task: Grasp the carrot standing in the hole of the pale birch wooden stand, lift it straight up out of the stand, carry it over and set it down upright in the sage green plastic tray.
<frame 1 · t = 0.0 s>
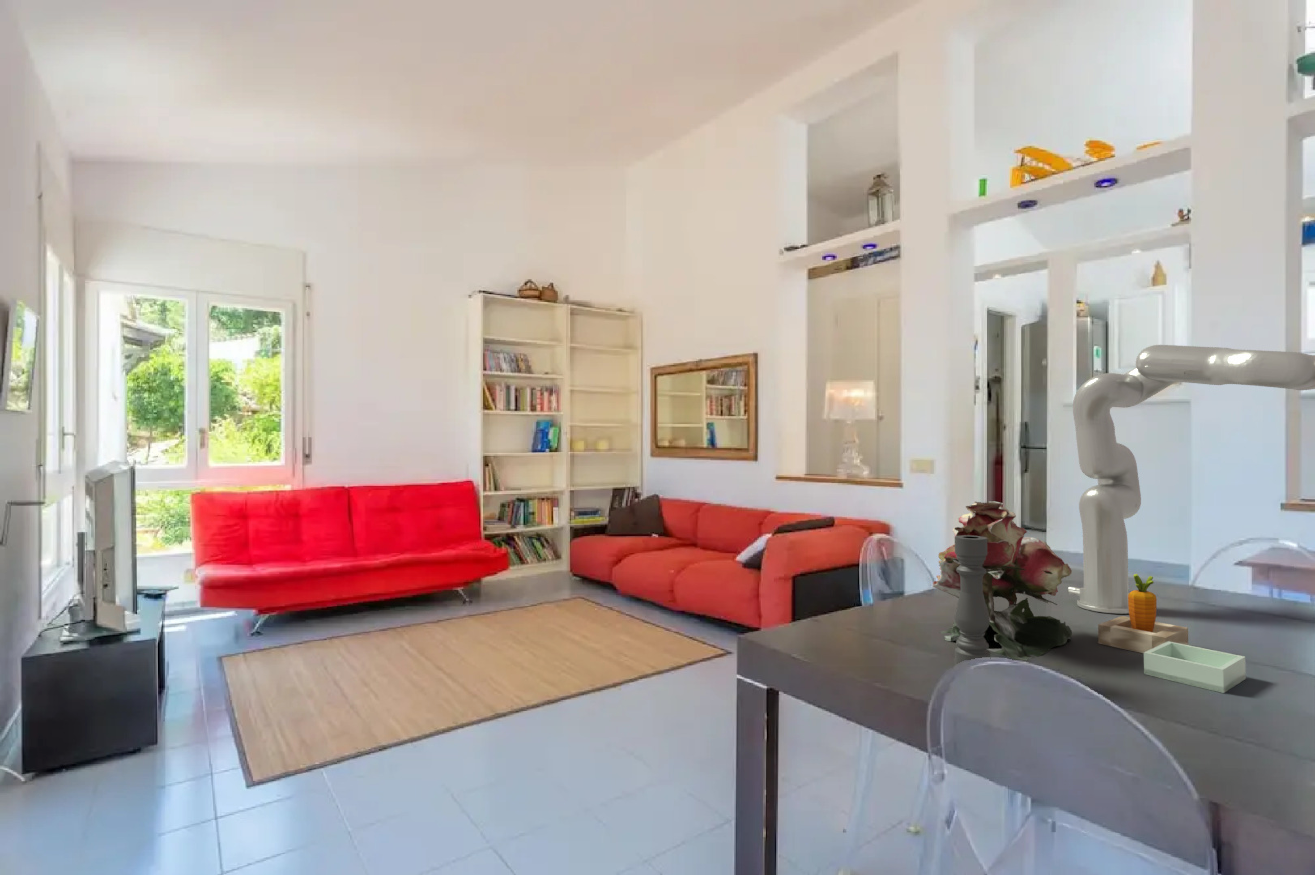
rose bouquet: (994, 637, 148), on the table
tray: (1194, 676, 122), on the table
carrot: (1142, 646, 140), on the table
wooden stand: (1142, 645, 140), on the table
candle holder: (972, 669, 127), on the table
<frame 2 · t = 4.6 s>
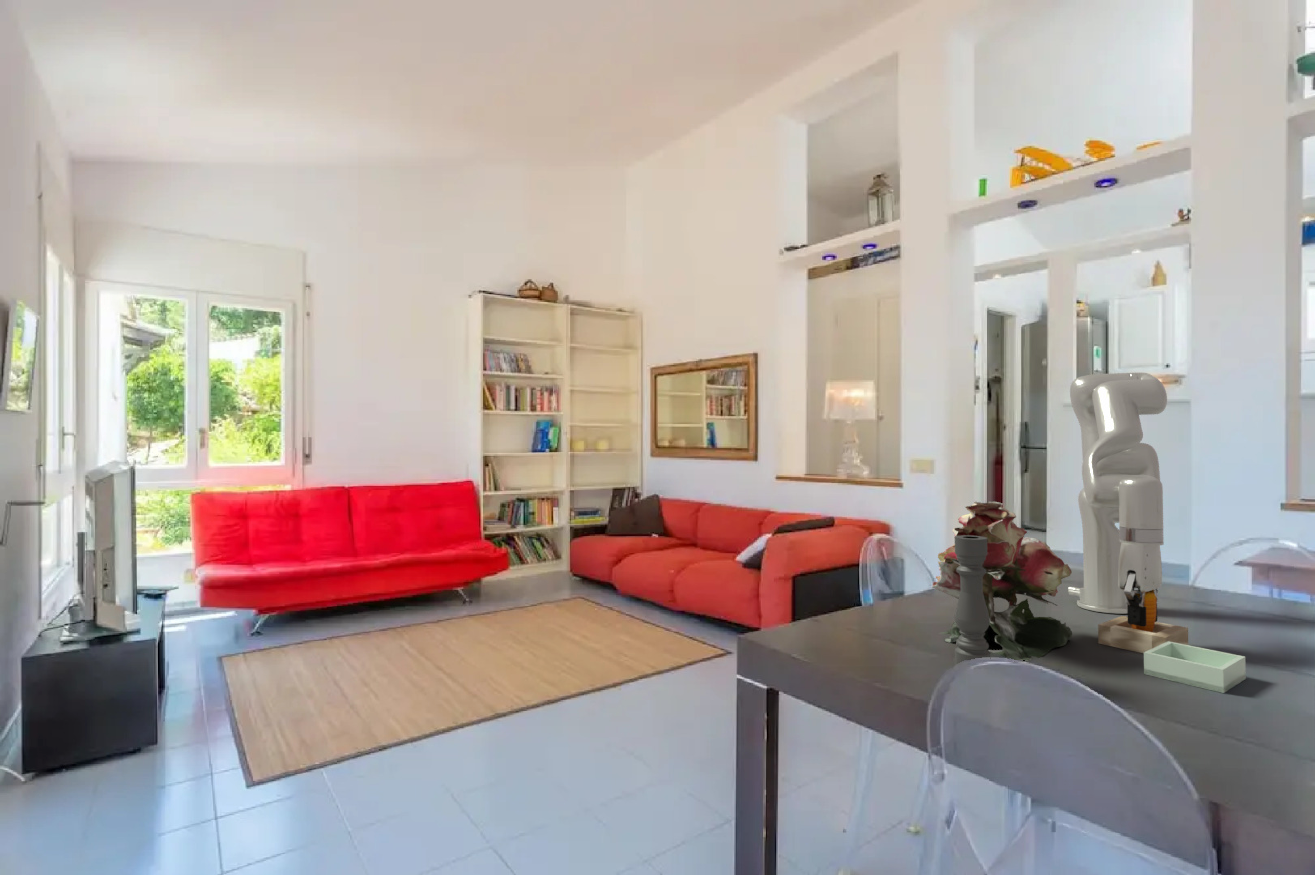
hand: (1142, 621, 140), 5 cm above the table, tool pointing down, fingers closed on carrot, 4 cm apart
carrot: (1143, 646, 140), on the table, touching gripper
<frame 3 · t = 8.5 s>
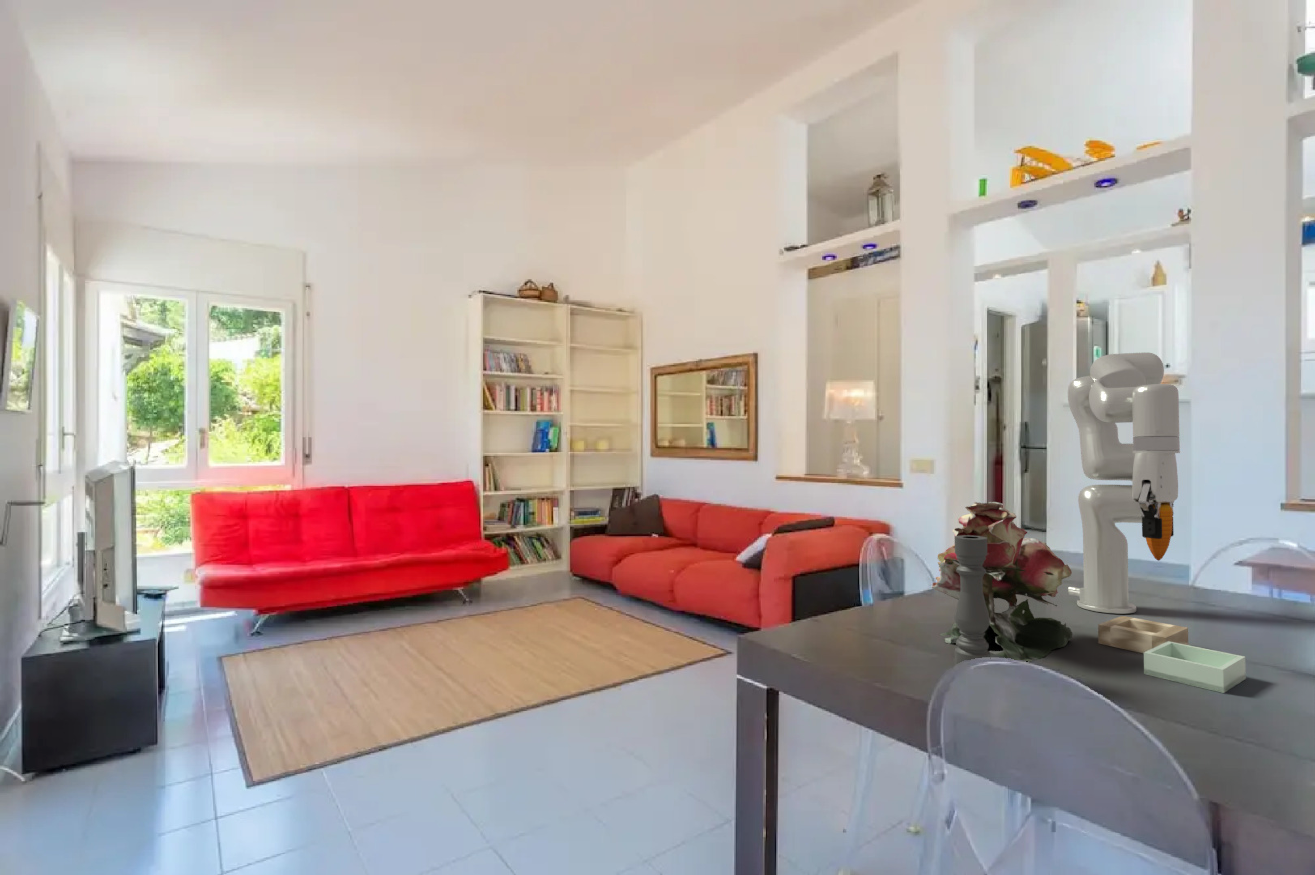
hand: (1157, 536, 134), 24 cm above the table, tool pointing down, fingers closed on carrot, 4 cm apart
carrot: (1158, 561, 134), point 19 cm above the table, touching gripper
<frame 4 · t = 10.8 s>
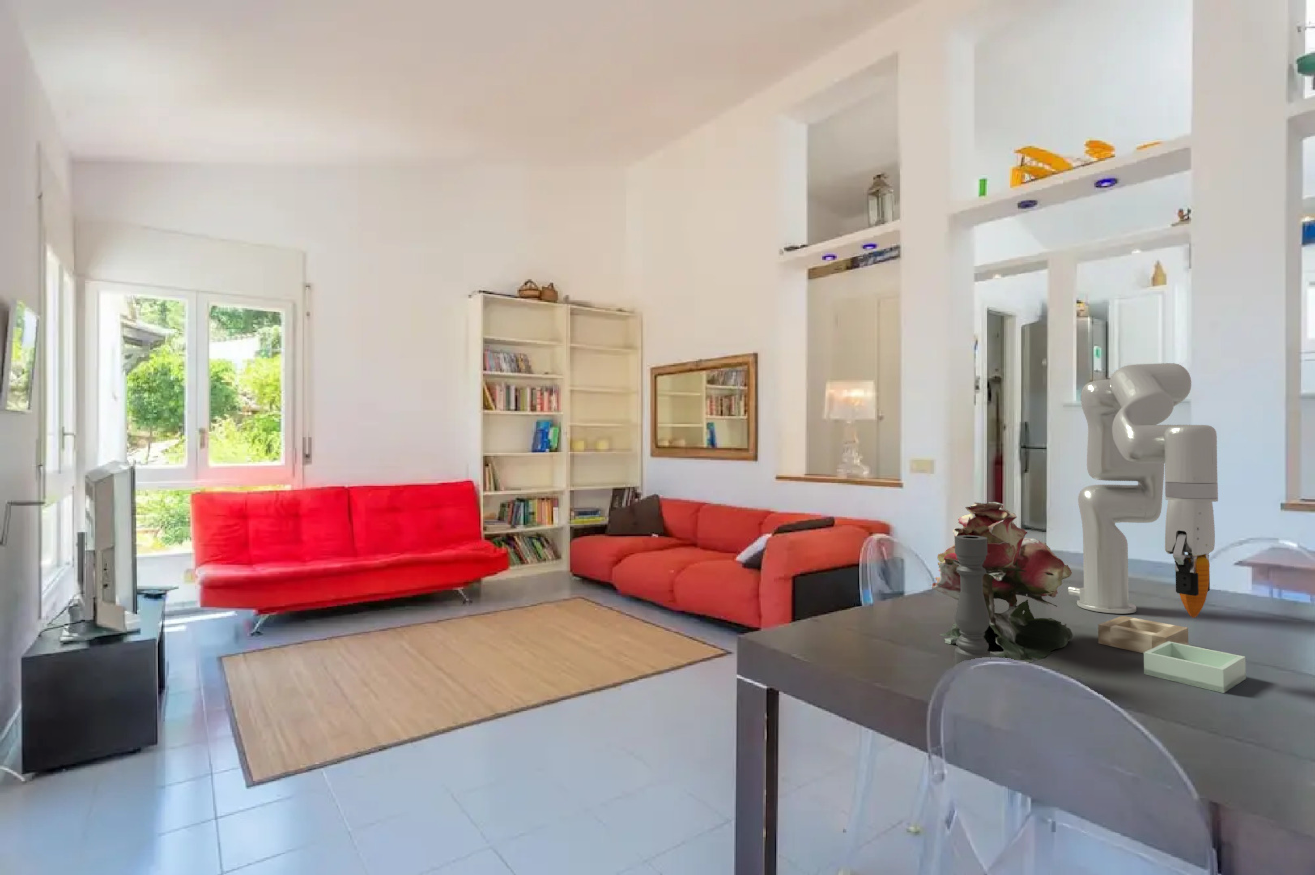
hand: (1192, 591, 122), 16 cm above the table, tool pointing down, fingers closed on carrot, 4 cm apart
carrot: (1193, 619, 122), point 11 cm above the table, touching gripper
when the fingers open (8 cm above the table, at t = 12.6 s): carrot drops 2 cm, resting on tray.
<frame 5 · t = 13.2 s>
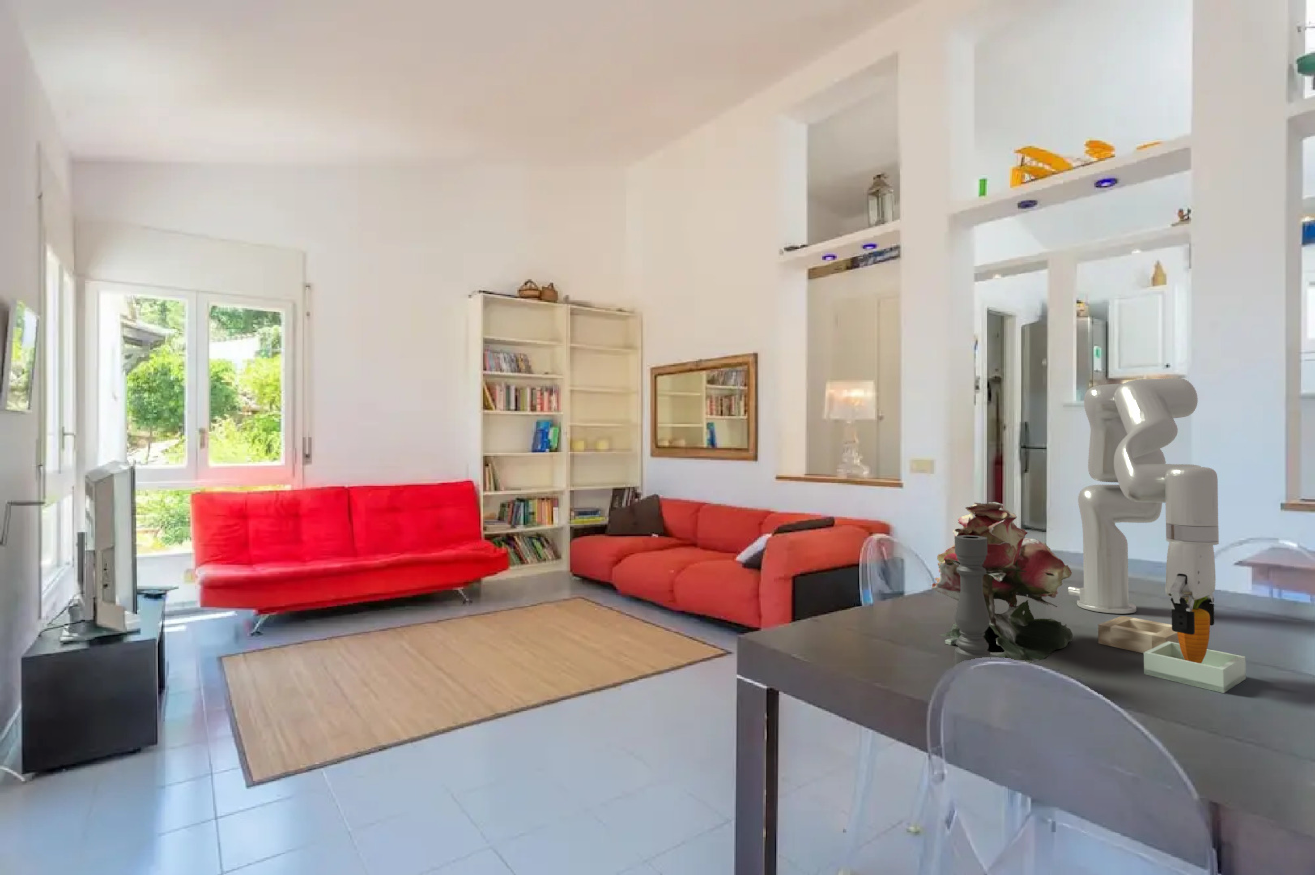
hand: (1193, 628, 122), 9 cm above the table, tool pointing down, fingers open, 9 cm apart
carrot: (1193, 671, 122), point 1 cm above the table, touching tray
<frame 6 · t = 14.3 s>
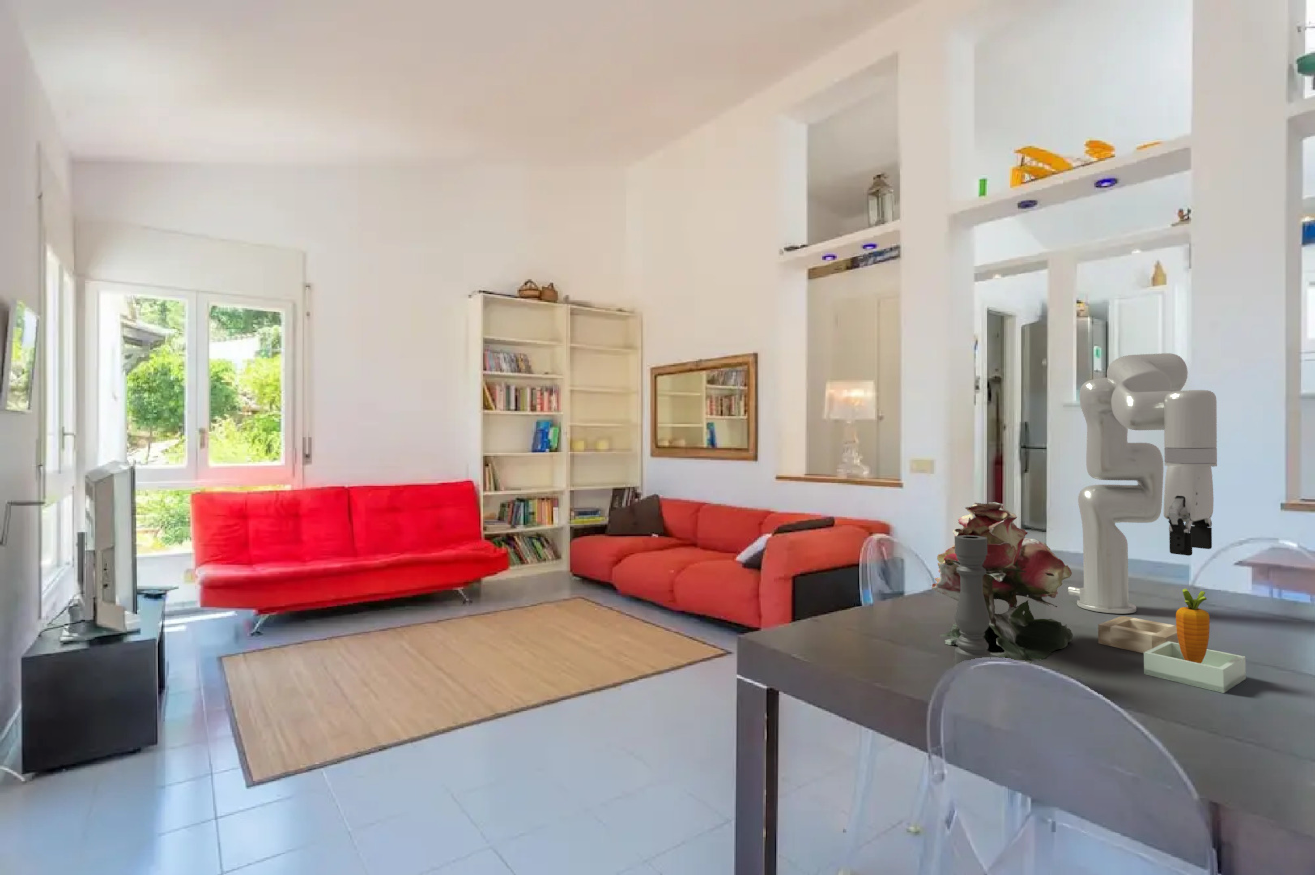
hand: (1191, 551, 122), 23 cm above the table, tool pointing down, fingers open, 9 cm apart
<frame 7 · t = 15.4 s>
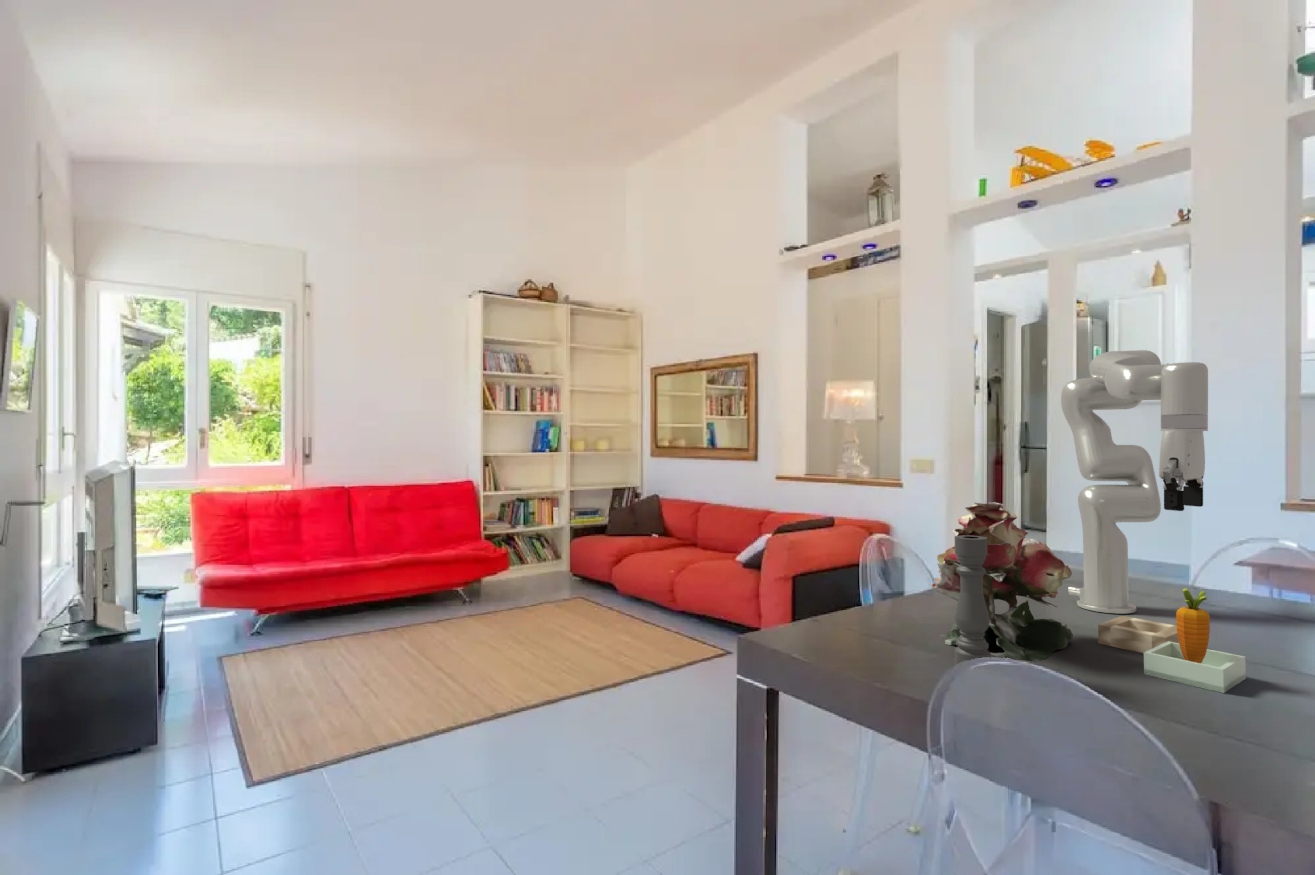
hand: (1183, 508, 136), 29 cm above the table, tool pointing down, fingers open, 9 cm apart
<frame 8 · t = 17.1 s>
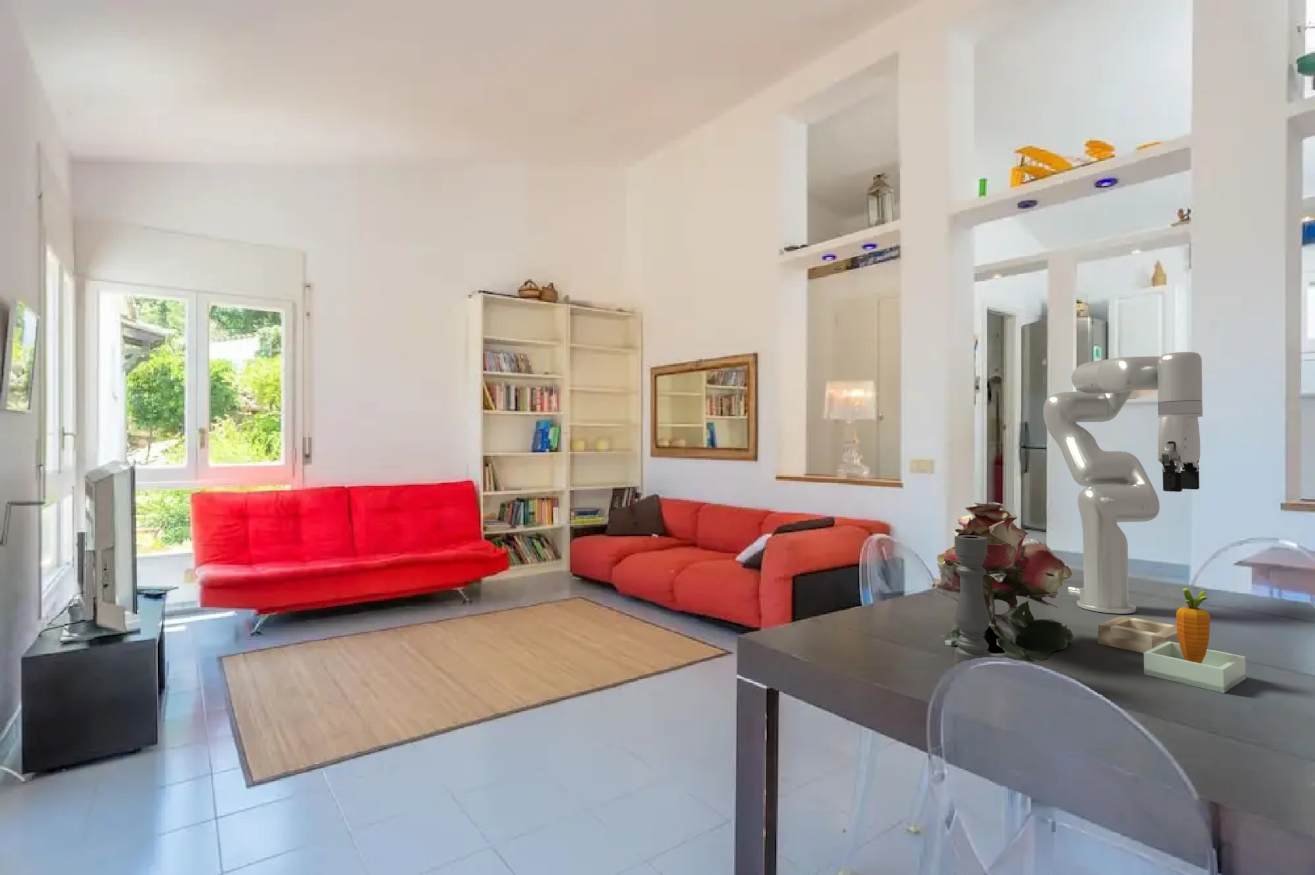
hand: (1181, 490, 143), 32 cm above the table, tool pointing down, fingers open, 9 cm apart
at the end: carrot inside the target area on the tray (0.2 cm from its centre), point 0.8 cm above the tray's base; carrot tilted 1°; the gripper is holding nothing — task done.
